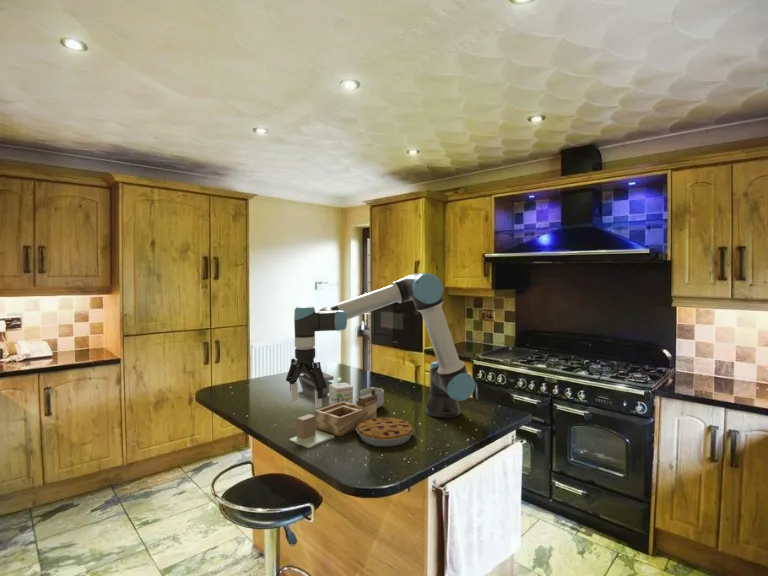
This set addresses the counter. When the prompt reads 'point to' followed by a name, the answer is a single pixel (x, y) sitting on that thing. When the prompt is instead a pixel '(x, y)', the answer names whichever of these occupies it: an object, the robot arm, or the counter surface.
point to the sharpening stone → (310, 387)
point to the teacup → (377, 391)
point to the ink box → (340, 393)
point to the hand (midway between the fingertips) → (306, 403)
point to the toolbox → (344, 416)
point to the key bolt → (367, 397)
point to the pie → (385, 431)
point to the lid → (309, 432)
